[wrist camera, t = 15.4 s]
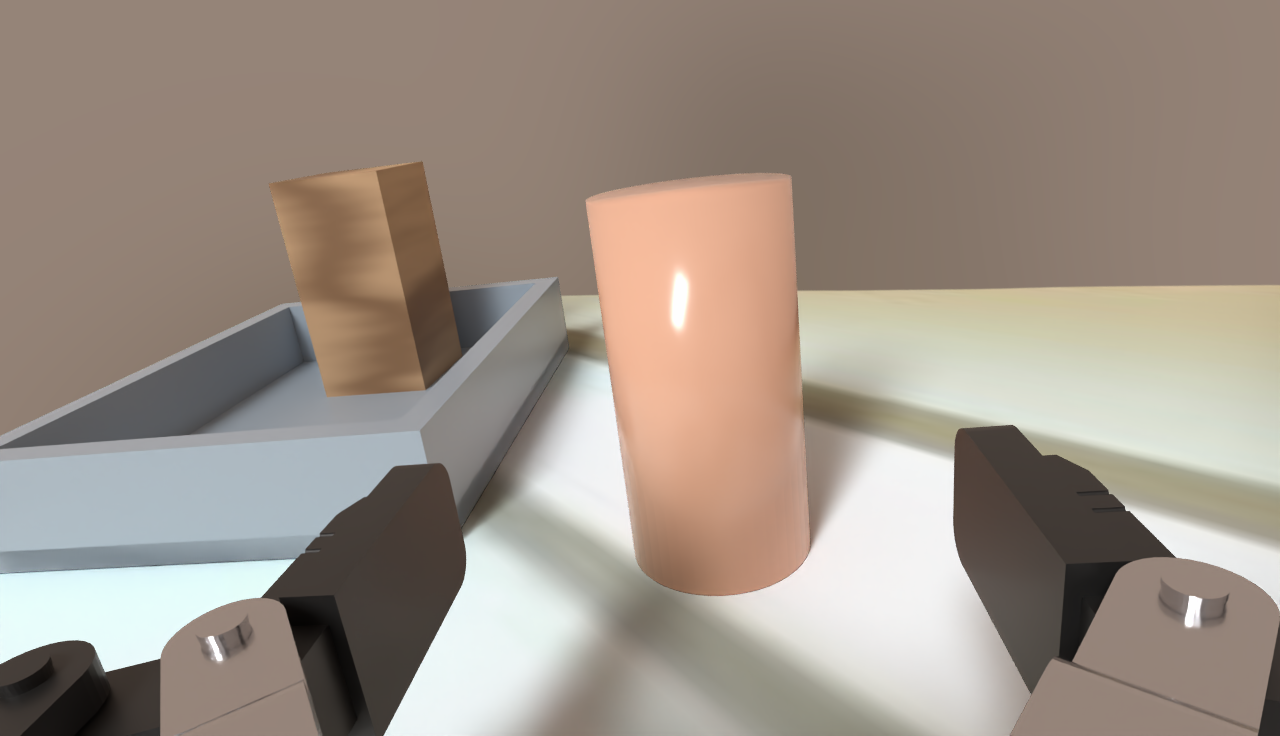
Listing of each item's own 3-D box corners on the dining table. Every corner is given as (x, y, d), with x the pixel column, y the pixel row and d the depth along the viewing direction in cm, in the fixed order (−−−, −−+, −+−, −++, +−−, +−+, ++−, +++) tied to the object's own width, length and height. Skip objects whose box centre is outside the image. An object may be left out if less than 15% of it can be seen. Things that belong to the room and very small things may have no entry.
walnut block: (462, 355, 40) (422, 161, 36) (425, 390, 35) (375, 170, 32) (374, 362, 40) (327, 172, 37) (327, 397, 36) (268, 183, 33)
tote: (300, 370, 44) (281, 304, 42) (569, 347, 42) (558, 277, 40) (-13, 573, 25) (-64, 465, 24) (447, 550, 23) (419, 430, 22)
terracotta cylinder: (748, 483, 25) (723, 171, 21) (848, 554, 20) (835, 175, 17) (608, 530, 23) (558, 198, 20) (684, 619, 18) (636, 210, 15)
